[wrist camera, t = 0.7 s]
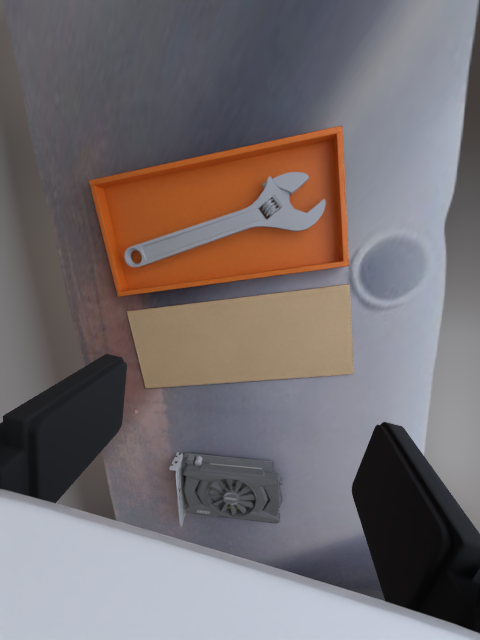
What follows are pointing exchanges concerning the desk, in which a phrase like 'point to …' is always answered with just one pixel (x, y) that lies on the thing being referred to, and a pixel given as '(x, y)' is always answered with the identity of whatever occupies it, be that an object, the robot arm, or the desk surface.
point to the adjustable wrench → (236, 221)
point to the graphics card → (227, 487)
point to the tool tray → (219, 200)
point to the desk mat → (246, 338)
